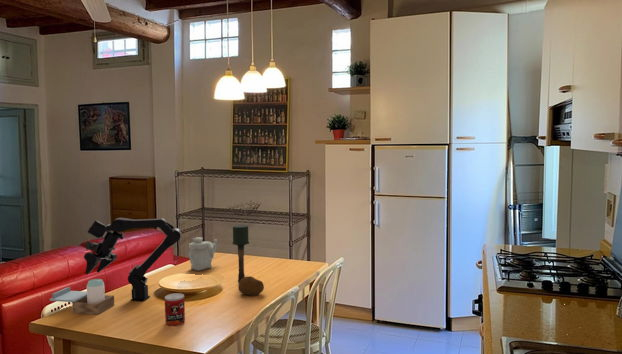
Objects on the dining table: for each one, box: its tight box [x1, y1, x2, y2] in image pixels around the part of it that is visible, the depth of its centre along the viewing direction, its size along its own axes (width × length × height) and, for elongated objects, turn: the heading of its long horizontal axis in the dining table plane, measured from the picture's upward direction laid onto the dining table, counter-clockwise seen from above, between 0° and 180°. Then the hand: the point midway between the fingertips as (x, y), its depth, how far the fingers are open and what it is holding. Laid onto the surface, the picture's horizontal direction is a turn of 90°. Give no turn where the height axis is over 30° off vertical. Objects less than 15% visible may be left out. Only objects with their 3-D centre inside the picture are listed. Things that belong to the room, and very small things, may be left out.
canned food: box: [164, 292, 186, 327], centre depth 192 cm, size 8×8×11 cm
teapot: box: [188, 236, 218, 272], centre depth 277 cm, size 16×15×19 cm
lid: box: [49, 286, 87, 303], centre depth 211 cm, size 12×12×3 cm
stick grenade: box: [231, 224, 250, 284], centre depth 245 cm, size 8×9×30 cm
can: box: [86, 278, 106, 304], centre depth 209 cm, size 7×7×12 cm
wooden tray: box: [71, 294, 115, 315], centre depth 209 cm, size 12×12×4 cm
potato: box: [238, 275, 265, 297], centre depth 227 cm, size 8×12×9 cm
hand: (91, 273), depth 218 cm, fingers open, 9 cm apart
